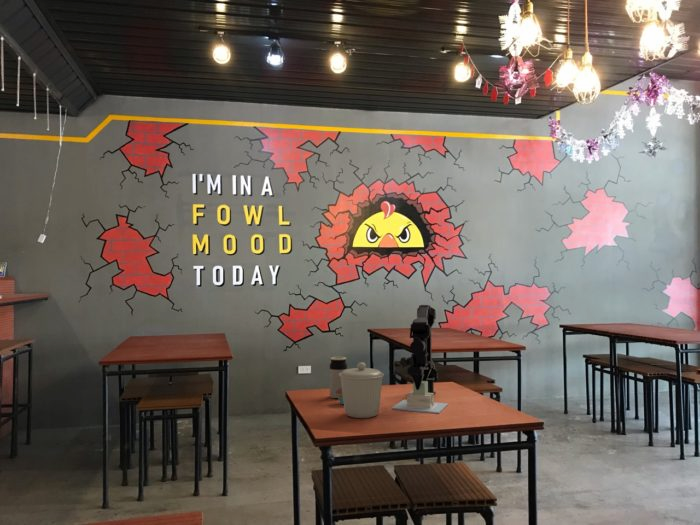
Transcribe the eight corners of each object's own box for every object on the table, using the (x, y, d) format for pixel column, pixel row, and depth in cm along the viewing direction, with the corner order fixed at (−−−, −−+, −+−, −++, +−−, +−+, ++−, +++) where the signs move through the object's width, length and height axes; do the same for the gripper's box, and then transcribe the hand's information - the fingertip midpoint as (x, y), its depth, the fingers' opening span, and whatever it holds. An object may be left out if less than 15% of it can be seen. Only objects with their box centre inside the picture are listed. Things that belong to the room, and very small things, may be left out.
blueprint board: (403, 400, 246) (403, 399, 246) (448, 405, 238) (448, 403, 238) (392, 409, 231) (392, 407, 231) (439, 413, 224) (439, 411, 224)
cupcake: (332, 404, 240) (332, 376, 240) (340, 400, 247) (340, 373, 248) (351, 406, 236) (351, 378, 237) (358, 402, 244) (358, 374, 244)
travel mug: (350, 396, 256) (350, 357, 256) (341, 399, 249) (341, 359, 249) (335, 394, 260) (335, 356, 260) (326, 398, 253) (326, 358, 253)
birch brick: (410, 403, 239) (410, 391, 240) (433, 404, 236) (433, 393, 236) (407, 406, 234) (407, 394, 234) (430, 408, 230) (430, 396, 230)
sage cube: (416, 392, 238) (416, 380, 238) (427, 393, 236) (427, 381, 236) (413, 394, 234) (413, 382, 234) (424, 395, 232) (424, 383, 232)
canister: (378, 422, 210) (377, 367, 211) (333, 419, 216) (332, 365, 216) (388, 411, 228) (388, 360, 228) (346, 408, 233) (346, 358, 233)
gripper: (408, 347, 247) (408, 382, 247) (395, 352, 230) (395, 390, 230) (432, 348, 243) (433, 384, 242) (421, 354, 225) (421, 392, 225)
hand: (420, 387), depth 235 cm, fingers open, 8 cm apart
